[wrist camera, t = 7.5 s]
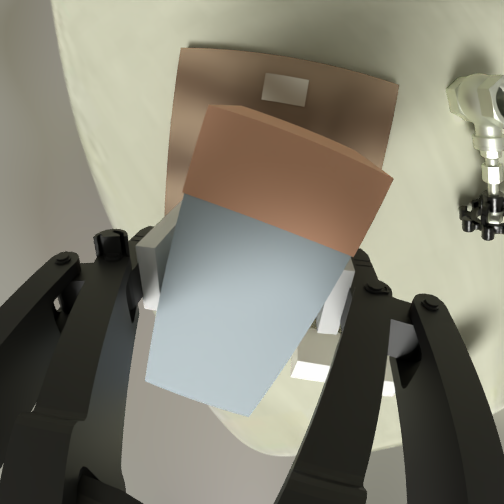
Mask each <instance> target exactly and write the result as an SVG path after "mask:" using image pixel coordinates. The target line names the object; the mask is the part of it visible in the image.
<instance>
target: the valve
mask: <svg viewBox="0 0 504 504" xmlns="http://www.w3.org/2000/svg"><path fill="white" fill-rule="evenodd" d="M446 93H447V97H448V102H449V107H450V111H451V112H452V113H453V114H455V115H457V116H459V117H461V118H462V119H464V120H466V121H468V122H472V123H473V124H474V125H475V132H476V133H475V134H473V135H472V137H473V145H474V148H475V149H477V150H480V154H481V156H482V157H484V158H485V163H483V164H481V165H482V180H483V181H484V182H486V183H488V190H486V191H484V192H483V194H481V195H480V196H479V199H476V200H473V201H472V210H471V212H470V211H467V206H461V207H460V208H459V217H460V220H462V229H463V231H465V232H473V231H474V230H475V229H477V230H480V231H482V234H481V237H482V238H483V239H484V240H487V241H490V240H493V239H494V234H504V223H501V222H502V220H503V216H504V194H503V193H502V192H501V191H499V184H500V183H502V181H503V165H502V164H500V163H498V158H500V157H501V156H502V151H504V134H502V129H504V75H490V76H489V75H486V74H480V73H477V74H472V75H469V76H468V77H459V78H457V79H456V80H455V81H454V82H453V83H452V84H451V85H450V86H449V87H448V88H447V89H446ZM480 215H481V220H480V219H478V218H477V217H478V216H480ZM500 223H501V224H500Z"/></svg>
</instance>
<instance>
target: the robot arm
mask: <svg viewBox="0 0 504 504" xmlns="http://www.w3.org/2000/svg"><path fill="white" fill-rule="evenodd" d="M181 203H182V201H181V202H180V203H179V204H178V205H176V206H175V207H174V208H173V209H172V210H171V211H170V212H169V213H168V214H167V215H166V216H165V217H164V218H163V219H162V220H161V221H160V222H159V223H158V224H157V225H156V226H155V227H153V226H148V227H146V228H144V229H142V230H140V231H139V232H138V233H137V234H136V235H135V236H133V237H132V238H131V240H129V241H128V235H127V232H126V231H124V230H121V229H110V230H105V231H102V232H100V233H98V234H96V235H95V236H94V237H93V238H94V244H95V250H96V256H97V258H96V260H95V262H94V263H80V260H79V256H78V254H77V253H74V252H64V253H63V252H61V253H59V254H57V255H55V256H53V257H52V258H51V259H50V260H48V262H46V263H45V264H44V265H43V266H42V267H41V268H40V269H39V270H37V271H36V272H35V273H34V274H33V275H32V276H31V277H30V278H29V279H28V280H27V281H26V282H25V283H24V284H23V285H22V286H21V287H20V288H19V289H18V290H17V291H16V292H15V293H14V294H13V295H12V296H11V297H10V298H9V299H8V300H7V301H6V302H5V303H4V304H3V305H2V306H1V307H0V468H1V467H2V465H3V463H4V465H3V469H2V474H1V480H0V504H143V503H141V502H140V501H138V500H136V499H135V498H133V497H132V496H130V495H128V494H127V493H126V488H125V482H124V479H123V475H122V471H121V455H122V454H121V453H122V439H123V427H124V416H125V406H126V397H127V388H128V381H129V373H130V367H131V360H132V353H133V347H134V340H135V334H136V329H137V322H138V318H139V308H138V302H139V301H140V300H141V298H142V297H143V302H144V308H145V309H149V310H155V311H157V308H158V303H159V298H160V293H161V288H162V283H163V278H164V274H165V269H166V265H167V260H168V256H169V252H170V247H171V243H172V239H173V235H174V231H175V227H176V223H177V219H178V215H179V211H180V207H181ZM57 297H58V301H59V304H60V308H59V309H58V310H56V309H55V306H54V303H53V302H54V300H55V299H56V298H57ZM316 323H317V333H323V334H335V335H337V333H338V330H339V327H340V323H341V329H342V332H341V335H340V338H339V341H338V344H337V347H336V350H335V353H334V357H333V360H332V363H331V366H330V369H329V372H328V375H327V378H326V381H325V384H324V386H323V389H322V392H321V395H320V398H319V400H318V403H317V406H316V408H315V411H314V414H313V416H312V419H311V421H310V424H309V426H308V429H307V431H306V434H305V436H304V439H303V441H302V443H301V446H300V448H299V450H298V453H297V455H296V457H295V460H294V462H293V464H292V466H291V469H290V471H289V473H288V475H287V477H286V479H285V482H284V484H283V486H282V488H281V490H280V492H279V494H278V496H277V498H276V500H275V502H274V504H365V503H366V499H367V491H366V489H365V488H364V487H363V482H364V477H365V473H366V469H367V465H368V461H369V457H370V453H371V449H372V445H373V440H374V436H375V431H376V426H377V421H378V415H379V410H380V404H381V398H382V392H383V386H384V379H385V371H386V363H387V355H388V356H389V361H390V366H391V371H392V376H393V382H394V387H395V393H396V399H397V406H398V412H399V419H400V427H401V434H402V443H403V452H404V462H405V474H406V488H407V504H504V454H503V450H502V446H501V442H500V439H499V435H498V432H497V429H496V425H495V422H494V419H493V416H492V413H491V410H490V407H489V404H488V401H487V398H486V396H485V393H484V390H483V388H482V385H481V382H480V380H479V377H478V375H477V372H476V370H475V367H474V365H473V363H472V360H471V358H470V356H469V353H468V351H467V349H466V347H465V344H464V342H463V340H462V338H461V336H460V334H459V332H458V329H457V327H456V325H455V323H454V321H453V319H452V317H451V315H450V313H449V311H448V309H447V307H446V306H445V304H444V303H443V302H442V301H441V300H439V299H438V298H437V297H435V296H433V295H429V294H418V295H416V296H415V297H414V299H413V301H412V303H409V302H405V301H402V300H399V299H396V298H394V297H392V290H391V288H390V287H389V286H388V285H387V284H385V283H384V282H382V281H379V280H378V278H377V275H376V273H375V271H374V268H373V266H372V264H371V262H370V259H369V257H368V255H367V254H366V253H365V252H364V251H363V250H362V249H359V248H358V250H357V252H356V254H355V255H354V257H352V256H351V258H350V260H349V262H348V263H347V265H346V267H345V269H344V270H343V272H342V274H341V276H340V278H339V279H338V281H337V283H336V284H335V286H334V288H333V290H332V291H331V293H330V295H329V296H328V298H327V300H326V301H325V303H324V305H323V306H322V308H321V310H320V311H319V313H318V315H317V316H316ZM36 402H37V403H36ZM35 404H36V406H35V408H34V410H33V411H32V409H33V407H34V405H35ZM31 411H32V412H31ZM30 412H31V413H30Z"/></svg>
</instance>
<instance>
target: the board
mask: <svg viewBox="0 0 504 504" xmlns="http://www.w3.org/2000/svg"><path fill="white" fill-rule="evenodd" d="M398 89H399V85H398V84H395V83H392V82H389V81H386V80H383V79H379V78H376V77H373V76H369V75H366V74H363V73H359V72H355V71H352V70H348V69H344V68H340V67H336V66H331V65H327V64H323V63H318V62H313V61H308V60H303V59H297V58H292V57H286V56H279V55H272V54H265V53H257V52H248V51H238V50H226V49H209V48H181V51H180V57H179V63H178V70H177V77H176V84H175V92H174V100H173V109H172V118H171V127H170V138H169V149H168V162H167V177H166V195H165V216H166V215H167V214H168V213H169V212H170V211H171V210H172V209H173V208H174V207H175V206H176V205H178V204H179V203H180V202H181V201H182V200H183V196H184V193H182V191H183V187H184V184H185V180H186V176H187V173H188V169H189V166H190V162H191V159H192V156H193V152H194V149H195V146H196V142H197V139H198V136H199V133H200V130H201V126H202V123H203V120H204V117H205V114H206V111H207V108H208V105H237V106H244V107H247V108H250V109H253V110H256V111H259V112H262V113H265V114H267V115H270V116H273V117H276V118H278V119H281V120H284V121H287V122H289V123H292V124H294V125H297V126H299V127H302V128H305V129H307V130H309V131H312V132H314V133H317V134H319V135H322V136H324V137H326V138H329V139H331V140H333V141H335V142H338V143H340V144H342V145H344V146H347V147H349V148H351V149H353V150H355V151H357V152H358V153H359V154H361V155H362V156H364V157H365V158H366V159H368V160H369V161H371V162H372V163H373V164H375V165H376V166H377V167H379V168H380V169H382V165H383V161H384V157H385V152H386V148H387V144H388V139H389V135H390V130H391V125H392V121H393V116H394V111H395V105H396V100H397V95H398Z"/></svg>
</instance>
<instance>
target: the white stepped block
mask: <svg viewBox="0 0 504 504" xmlns="http://www.w3.org/2000/svg"><path fill="white" fill-rule="evenodd" d="M340 335H341V333H337V335H335V334H323V333H317V329H315V328H309V329H308V331H307V332H306V334H305V336H304V337H303V339H302V340H301V342H300V343H299V345H298V347H297V348H296V350H295V351H294V353H293V354H292V356H291V375H290V377H293V378H299V379H305V380H312V381H319V382H325V381H326V378H327V375H328V372H329V369H330V366H331V363H332V360H333V357H334V353H335V350H336V347H337V344H338V341H339V338H340ZM394 394H395V387H394V382H393V376H392V371H391V366H390V361H389V356H388V355H387V363H386V371H385V379H384V386H383V392H382V396H393V395H394Z"/></svg>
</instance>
